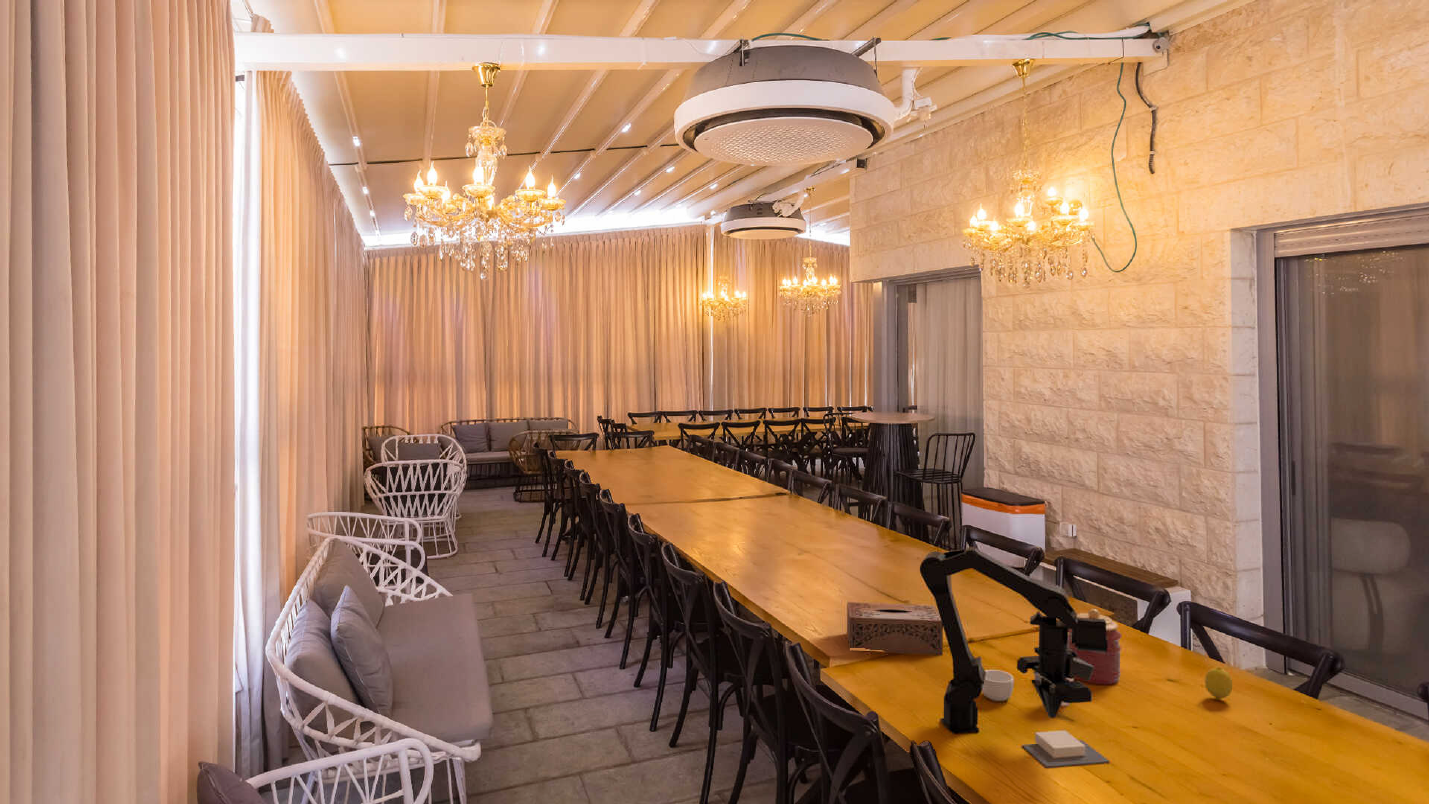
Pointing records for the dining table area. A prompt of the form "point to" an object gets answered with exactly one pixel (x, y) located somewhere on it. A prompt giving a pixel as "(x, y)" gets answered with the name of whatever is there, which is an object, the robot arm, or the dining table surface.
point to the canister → (1102, 662)
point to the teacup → (998, 685)
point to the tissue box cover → (895, 628)
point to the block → (1060, 744)
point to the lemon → (1218, 683)
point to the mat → (1049, 761)
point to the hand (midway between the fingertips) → (1051, 717)
